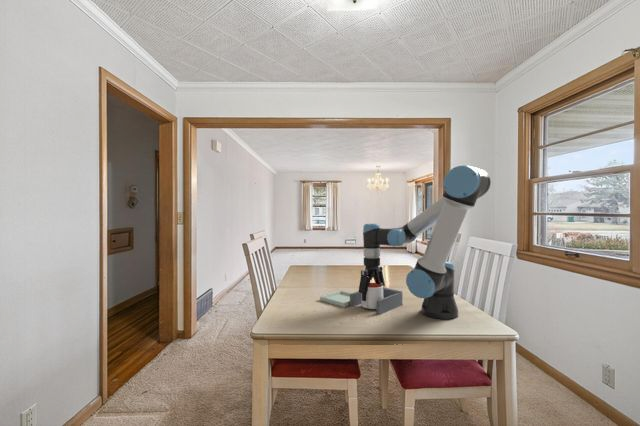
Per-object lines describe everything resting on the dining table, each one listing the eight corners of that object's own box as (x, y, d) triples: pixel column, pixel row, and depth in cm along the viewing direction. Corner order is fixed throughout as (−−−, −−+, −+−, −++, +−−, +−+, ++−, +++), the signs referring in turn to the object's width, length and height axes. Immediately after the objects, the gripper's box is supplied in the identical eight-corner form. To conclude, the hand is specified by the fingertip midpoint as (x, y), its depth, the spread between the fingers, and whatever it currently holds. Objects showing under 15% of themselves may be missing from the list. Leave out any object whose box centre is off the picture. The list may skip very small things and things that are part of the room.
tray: (365, 300, 160) (365, 296, 160) (344, 307, 149) (344, 303, 149) (341, 294, 172) (341, 290, 171) (320, 300, 160) (320, 296, 160)
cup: (382, 303, 153) (382, 282, 153) (384, 310, 143) (384, 287, 143) (361, 303, 154) (361, 282, 154) (361, 309, 144) (361, 287, 144)
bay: (402, 304, 152) (402, 290, 152) (379, 314, 139) (379, 299, 139) (373, 298, 164) (373, 284, 164) (349, 306, 150) (349, 292, 150)
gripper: (379, 253, 159) (379, 298, 159) (349, 259, 143) (350, 308, 143) (392, 254, 154) (392, 301, 154) (363, 261, 138) (364, 312, 138)
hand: (372, 304), depth 149 cm, fingers closed on cup, 10 cm apart
